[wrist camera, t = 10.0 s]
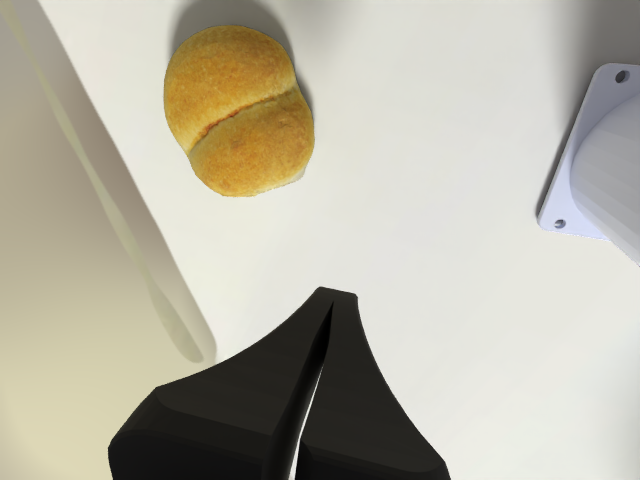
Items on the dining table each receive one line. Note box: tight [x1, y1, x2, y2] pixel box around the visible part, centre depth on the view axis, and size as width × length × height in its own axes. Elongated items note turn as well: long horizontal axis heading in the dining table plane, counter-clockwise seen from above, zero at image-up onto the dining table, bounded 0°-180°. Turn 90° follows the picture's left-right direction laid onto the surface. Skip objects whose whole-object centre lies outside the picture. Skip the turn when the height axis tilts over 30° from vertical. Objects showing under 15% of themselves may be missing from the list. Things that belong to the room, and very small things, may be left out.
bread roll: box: [164, 25, 315, 197], centre depth 19 cm, size 8×9×4 cm
